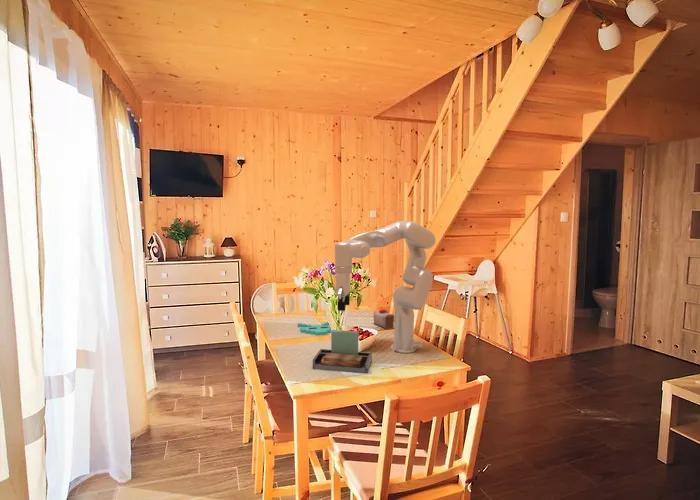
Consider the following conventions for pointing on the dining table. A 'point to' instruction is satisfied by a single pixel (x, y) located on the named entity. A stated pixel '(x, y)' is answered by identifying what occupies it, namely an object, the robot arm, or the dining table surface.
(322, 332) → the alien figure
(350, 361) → the top offcut
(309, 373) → the dining table surface
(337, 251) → the robot arm
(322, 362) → the middle offcut
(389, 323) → the food item
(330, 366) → the dark grey tray
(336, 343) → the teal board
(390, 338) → the dining table surface
